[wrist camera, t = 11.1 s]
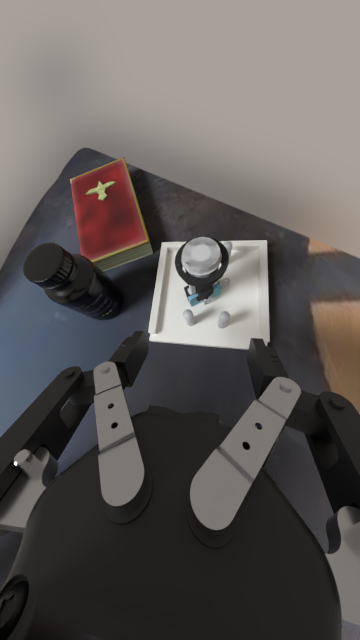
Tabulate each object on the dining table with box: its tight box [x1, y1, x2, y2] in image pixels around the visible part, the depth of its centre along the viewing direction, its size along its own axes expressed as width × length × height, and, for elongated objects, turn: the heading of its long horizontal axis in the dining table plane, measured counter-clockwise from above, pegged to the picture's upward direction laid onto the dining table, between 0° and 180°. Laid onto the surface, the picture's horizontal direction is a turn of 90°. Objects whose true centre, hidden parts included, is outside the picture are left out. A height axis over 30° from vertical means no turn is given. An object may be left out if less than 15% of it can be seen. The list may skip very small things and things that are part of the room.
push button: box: [175, 237, 230, 306], centre depth 21 cm, size 7×5×10 cm
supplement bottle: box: [23, 242, 124, 320], centre depth 24 cm, size 7×7×12 cm
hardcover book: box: [70, 157, 153, 272], centre depth 33 cm, size 12×21×4 cm, turn 17°
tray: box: [148, 240, 270, 350], centre depth 24 cm, size 16×16×5 cm
